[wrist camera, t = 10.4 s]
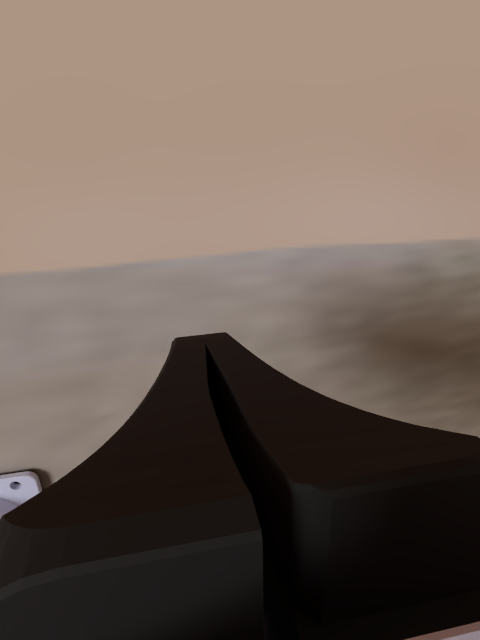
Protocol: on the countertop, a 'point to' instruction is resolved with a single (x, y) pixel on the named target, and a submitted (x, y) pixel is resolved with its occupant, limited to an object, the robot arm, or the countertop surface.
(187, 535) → the robot arm
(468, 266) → the countertop surface
